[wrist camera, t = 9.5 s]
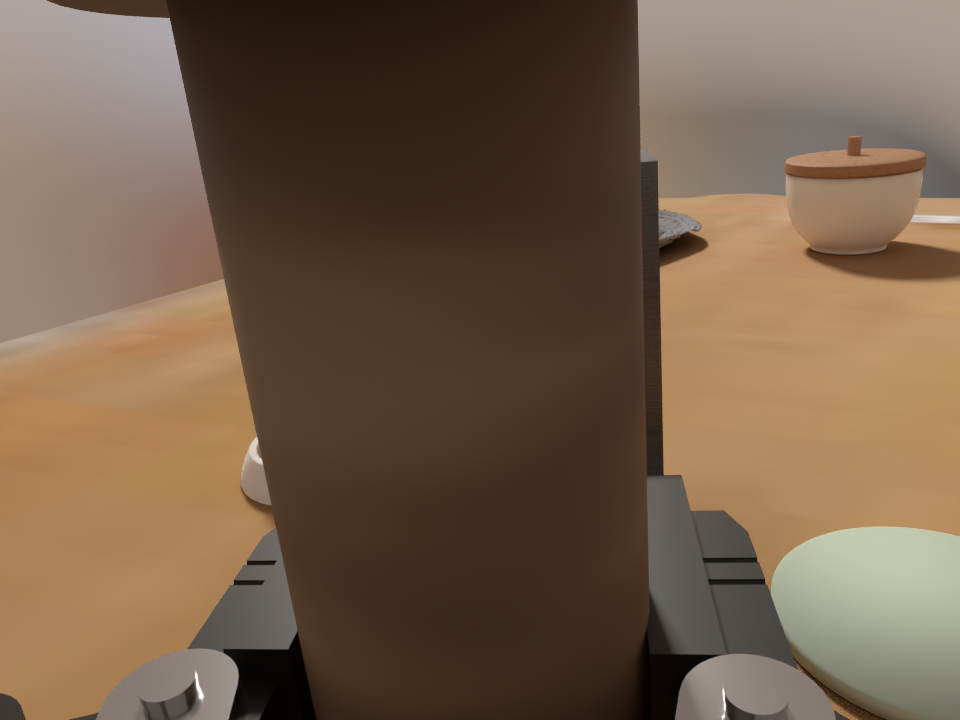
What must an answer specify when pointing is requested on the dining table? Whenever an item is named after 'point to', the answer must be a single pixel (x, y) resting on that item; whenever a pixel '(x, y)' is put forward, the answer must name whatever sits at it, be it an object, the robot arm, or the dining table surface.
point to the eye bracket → (651, 313)
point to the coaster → (877, 618)
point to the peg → (438, 337)
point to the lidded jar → (853, 196)
